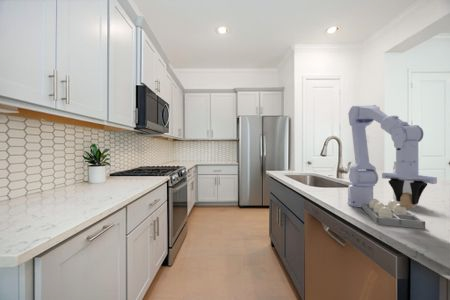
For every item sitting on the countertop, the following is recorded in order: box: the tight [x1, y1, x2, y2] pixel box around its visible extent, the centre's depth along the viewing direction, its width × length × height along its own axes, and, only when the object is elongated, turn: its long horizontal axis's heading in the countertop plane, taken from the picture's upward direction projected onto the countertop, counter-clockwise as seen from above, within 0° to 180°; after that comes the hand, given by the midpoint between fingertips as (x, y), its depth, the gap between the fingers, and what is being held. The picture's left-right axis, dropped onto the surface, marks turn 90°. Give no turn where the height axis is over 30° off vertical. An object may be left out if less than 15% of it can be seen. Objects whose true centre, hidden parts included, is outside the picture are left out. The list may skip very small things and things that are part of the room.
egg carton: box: [362, 204, 426, 229], centre depth 79 cm, size 13×19×2 cm
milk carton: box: [392, 161, 417, 207], centre depth 98 cm, size 7×7×19 cm
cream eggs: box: [369, 198, 408, 218], centre depth 79 cm, size 10×16×5 cm, turn 159°
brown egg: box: [400, 192, 416, 209], centre depth 72 cm, size 4×4×5 cm
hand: (407, 202), depth 72 cm, fingers closed on brown egg, 4 cm apart
